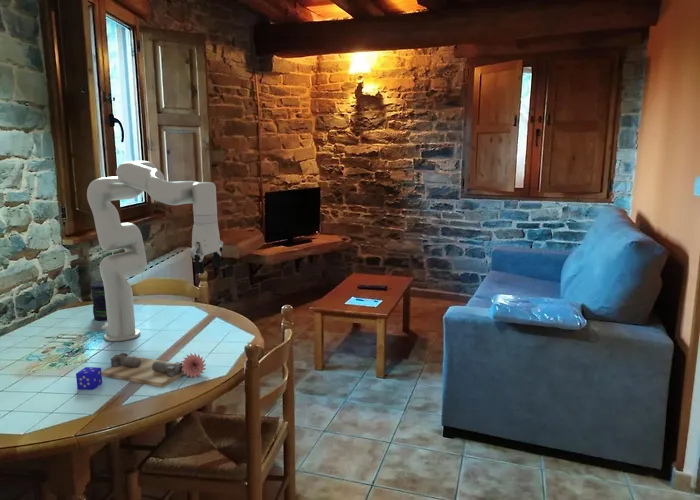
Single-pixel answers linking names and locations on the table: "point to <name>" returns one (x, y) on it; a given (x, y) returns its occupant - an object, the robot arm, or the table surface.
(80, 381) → the die
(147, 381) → the shaft bed
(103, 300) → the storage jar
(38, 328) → the table surface
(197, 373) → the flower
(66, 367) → the table surface
